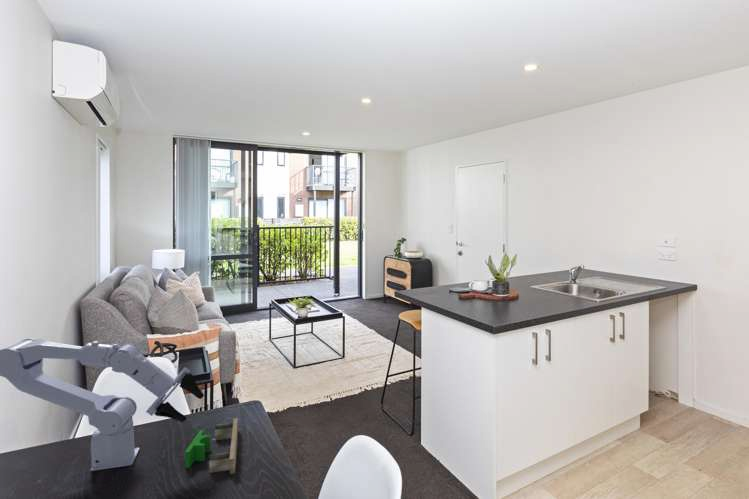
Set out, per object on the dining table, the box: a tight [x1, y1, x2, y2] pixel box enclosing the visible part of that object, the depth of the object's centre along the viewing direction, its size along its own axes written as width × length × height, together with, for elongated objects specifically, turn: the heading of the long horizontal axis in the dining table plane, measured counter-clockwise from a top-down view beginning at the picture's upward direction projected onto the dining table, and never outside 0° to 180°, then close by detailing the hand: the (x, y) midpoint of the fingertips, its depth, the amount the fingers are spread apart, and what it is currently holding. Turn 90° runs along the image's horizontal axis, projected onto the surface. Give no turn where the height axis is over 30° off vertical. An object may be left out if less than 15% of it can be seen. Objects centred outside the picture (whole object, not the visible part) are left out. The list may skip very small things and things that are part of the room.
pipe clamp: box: [184, 429, 211, 469], centre depth 113 cm, size 11×4×5 cm, turn 3°
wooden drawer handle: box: [208, 417, 239, 475], centre depth 114 cm, size 6×22×4 cm, turn 16°
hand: (193, 408), depth 112 cm, fingers open, 7 cm apart
